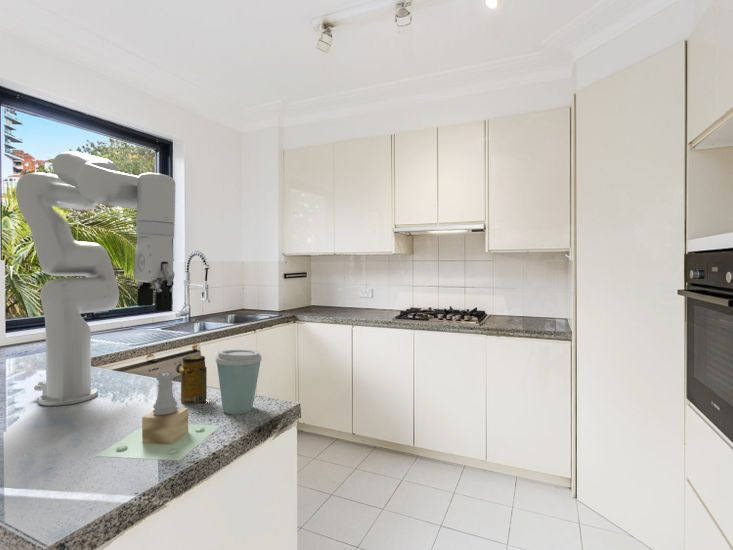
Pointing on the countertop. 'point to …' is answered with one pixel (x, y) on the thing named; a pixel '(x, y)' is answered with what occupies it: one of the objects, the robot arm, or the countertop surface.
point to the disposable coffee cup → (238, 379)
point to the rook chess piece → (165, 395)
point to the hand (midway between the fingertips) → (153, 308)
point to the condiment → (194, 381)
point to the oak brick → (164, 427)
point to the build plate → (159, 445)
